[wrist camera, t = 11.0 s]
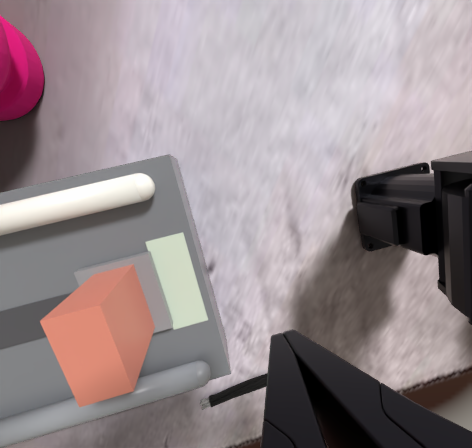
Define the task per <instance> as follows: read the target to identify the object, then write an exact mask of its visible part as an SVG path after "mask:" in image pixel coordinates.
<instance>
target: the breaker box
mask: <svg viewBox="0 0 472 448" xmlns="http://www.w3.org/2000/svg"><path fill="white" fill-rule="evenodd" d="M148 251H150V252H151V255H152V258H153V261H154V264H155V267H156V270H157V273H158V276H159V280H160V283H161V286H162V289H163V292H164V295H165V298H166V301H167V304H168V307H169V310H170V314H171V317H172V320H173V327H172V328H170V329H166V330H163V331H159V332H156V333H153V335H152V338H151V341H150V344H149V347H148V350H147V353H146V356H145V359H144V362H143V365H142V368H141V371H140V374H139V377H138V380H137V383H136V386H135V389H134V391H133V392H129V393H126V394H123V395H119V396H116V397H113V398H109V399H106V400H103V401H99V402H96V403H93V404H89V405H86V406H83V407H79V406H78V404H77V401H76V399H75V397H74V395H73V393H72V390H71V388H70V386H69V384H68V382H67V380H66V377H65V375H64V373H63V371H62V369H61V367H60V364H59V362H58V360H57V358H56V356H55V353H54V351H53V349H52V347H51V345H50V343H49V340H48V338H47V336H46V334H45V332H44V330H43V327H42V325H41V323H40V321H41V320H42V319H43V318H44V317H45V316H46V315H47V314H49V313H50V312H51V311H52V310H53V309H54V308H55V307H57V306H58V305H59V304H60V303H61V302H62V301H64V300H65V299H66V298H67V297H68V296H69V295H70V294H72V293H73V292H74V291H75V290H76V289H77V288H79V284H78V282H77V280H76V277H75V275H74V272H76V271H77V270H78V269H81V268H85V267H89V266H93V265H97V264H101V263H105V262H109V261H113V260H117V259H120V258H124V257H128V256H132V255H136V254H140V253H144V252H148ZM229 374H231V370H230V363H229V355H228V348H227V340H226V336H225V332H224V328H223V325H222V321H221V317H220V314H219V310H218V307H217V303H216V299H215V296H214V292H213V288H212V285H211V281H210V277H209V274H208V270H207V267H206V263H205V259H204V256H203V252H202V248H201V245H200V241H199V238H198V234H197V230H196V227H195V223H194V219H193V216H192V212H191V208H190V205H189V201H188V198H187V194H186V190H185V187H184V183H183V179H182V176H181V172H180V168H179V165H178V161H177V159H176V158H174V157H173V156H171V155H170V154H169V155H164V156H160V157H156V158H151V159H147V160H142V161H138V162H134V163H129V164H125V165H120V166H116V167H111V168H107V169H103V170H98V171H94V172H89V173H85V174H81V175H76V176H72V177H67V178H63V179H59V180H54V181H50V182H45V183H41V184H37V185H32V186H28V187H23V188H19V189H15V190H10V191H6V192H1V193H0V448H4V447H7V446H10V445H14V444H17V443H20V442H24V441H27V440H30V439H33V438H37V437H40V436H43V435H46V434H50V433H53V432H56V431H60V430H63V429H66V428H69V427H73V426H76V425H79V424H83V423H86V422H89V421H92V420H96V419H99V418H102V417H105V416H109V415H112V414H115V413H119V412H122V411H125V410H128V409H132V408H135V407H138V406H141V405H145V404H148V403H151V402H155V401H158V400H161V399H164V398H168V397H171V396H174V395H178V394H181V393H184V392H187V391H191V390H194V389H197V388H200V387H203V386H204V385H206V384H207V383H208V381H209V380H212V379H216V378H219V377H222V376H225V375H229Z"/></svg>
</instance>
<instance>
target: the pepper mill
mask: <svg viewBox="0 0 472 448" xmlns="http://www.w3.org/2000/svg"><path fill="white" fill-rule="evenodd" d="M43 85H44V73H43V68H42V64H41V61H40V58H39V56H38V54H37V52H36V50H35V48H34V47H33V45H32V44H31V43H30V41H29V40H28V39H27V38H26V37H25V36H24V35H23V34H22V33H21V32H20V31H19V30H18V29H16V28H15V27H14V26H13V25H11V24H10V23H9V22H8V21H6V20H5V19H4V18H3V17H1V16H0V121H5V120H12V119H16V118H19V117H21V116H23V115H25V114H27V113H28V112H29V111H30V110H31V109H32V108H33V107H34V106H35V105H36V104H37V102H38V100H39V99H40V97H41V95H42V91H43Z"/></svg>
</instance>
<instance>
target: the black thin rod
mask: <svg viewBox="0 0 472 448" xmlns="http://www.w3.org/2000/svg"><path fill="white" fill-rule="evenodd" d="M267 376H268V373H267V374H264V375H261V376H258V377H256V378H253V379H250V380H247V381H245V382H243V383H240V384H238V385H236V386H233V387H231V388H229V389H226V390H224V391H222V392H220V393H217V394H214V395H211V396H209V397H208V398H205V399H202V400H201V402H202V401H203V402H202V403H200V405H202V406H203V407H202V410H203V409H205V408H208V407H210V406H211V407H213V406H215V405H218V404H220V403H223V402H225V401H227V400H230V399H232V398H235V397H238V396H241V395H244V394H246V393H250V392H252V391H255V390H258V389H261V388H264V387H266V386H267ZM207 404H208V405H207ZM204 405H205V406H204Z"/></svg>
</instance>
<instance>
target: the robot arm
mask: <svg viewBox="0 0 472 448" xmlns="http://www.w3.org/2000/svg"><path fill="white" fill-rule="evenodd" d="M421 168H423V169H422V170H421ZM431 170H434V174H430V170H429V165H428V163H417V164H413V165H409V166H405V167H401V168H397V169H393V170H389V171H385V172H381V173H377V174H373V175H369V176H365V177H361V178H359V179H357V180H356V182H355V188H356V196H357V213H358V221H359V229H360V233H361V237H362V245H363V248H364V249H365V250H367V251H374V250H378V249H381V248H385V247H388V246H392V245H394V246H400V247H403V248H406V249H409V250H412V251H414V252H417V253H420V254H423V255H432V256H435V257H438V263H439V280H438V289H440V290H441V291H442V292H443V293H444V294H445V295H446V296H447V297H448V299H449V301H450V303H451V304H452V305H453V306H454V307H455V308H456V309H458V310H459V311H460V312H461V313H463V314H464V315H465V316H467V317H468V322H469V323H470V324H471V325H472V151H469V152H465V153H461V154H457V155H453V156H449V157H445V158H441V159H437V160H433V161H431ZM362 181H363V186H361V182H362ZM369 244H370V247H368V245H369ZM325 441H326V443H327V445H328V447H329V448H472V432H471V431H469V430H467V429H465V428H463V427H461V426H459V425H457V424H455V423H453V422H451V421H449V420H447V419H445V418H443V417H441V416H439V415H438V414H436V413H434V412H432V411H430V410H428V409H426V408H424V407H422V406H421V405H419V404H417V403H415V402H413V401H411V400H410V399H408V398H406V397H405V396H403V395H401V394H399V393H398V392H396V391H394V390H393V389H391V388H389V387H388V386H386V385H384V384H383V383H381V384H380V382H379V381H378V380H376V379H374V378H373V377H371V376H369V375H368V374H366V373H365V372H363V371H361V370H360V369H358V368H356V367H355V366H353V365H351V364H350V363H348V362H347V361H345V360H343V359H342V358H340V357H338V356H337V355H335V354H333V353H332V352H330V351H328V350H327V349H325V348H324V347H322V346H320V345H319V344H317V343H315V342H314V341H312V340H310V339H309V338H307V337H305V336H304V335H302V334H301V333H299V332H297V331H296V330H293V329H292V330H289V331H285V332H283V334H282V333H279V334H275V335H272V336H271V343H270V354H269V365H268V376H267V387H266V398H265V409H264V422H263V430H262V439H261V447H260V448H327V446H326V443H325Z"/></svg>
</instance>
